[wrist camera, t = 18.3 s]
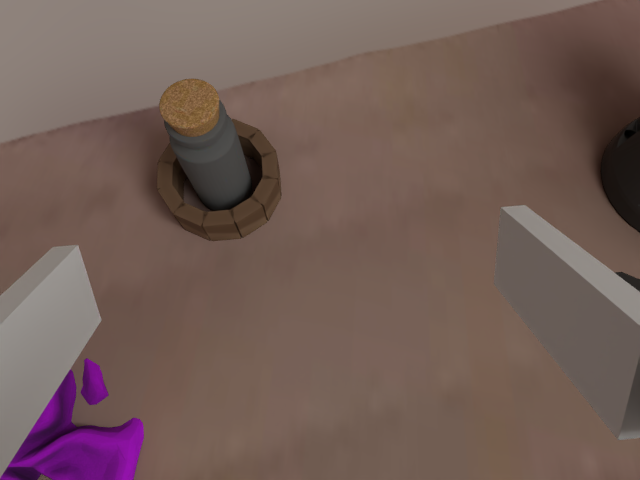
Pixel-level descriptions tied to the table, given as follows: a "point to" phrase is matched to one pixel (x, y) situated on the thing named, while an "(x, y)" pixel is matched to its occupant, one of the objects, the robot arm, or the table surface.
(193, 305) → the table surface
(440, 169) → the table surface
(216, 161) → the bottle
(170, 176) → the bead ring
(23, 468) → the cloth
